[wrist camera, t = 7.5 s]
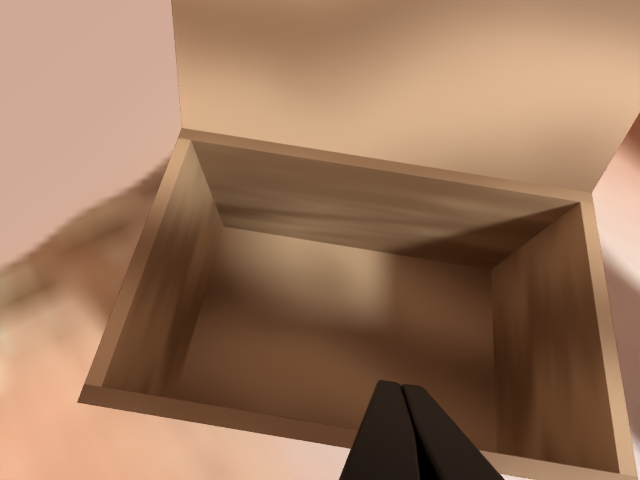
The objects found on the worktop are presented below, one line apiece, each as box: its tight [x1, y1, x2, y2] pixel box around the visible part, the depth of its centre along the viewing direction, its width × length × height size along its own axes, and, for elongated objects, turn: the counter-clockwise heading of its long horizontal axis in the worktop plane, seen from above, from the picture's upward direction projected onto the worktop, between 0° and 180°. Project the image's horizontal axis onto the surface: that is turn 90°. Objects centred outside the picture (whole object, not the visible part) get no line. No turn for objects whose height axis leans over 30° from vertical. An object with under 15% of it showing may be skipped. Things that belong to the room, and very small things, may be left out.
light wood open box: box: [77, 128, 638, 480], centre depth 17 cm, size 10×16×8 cm, turn 81°
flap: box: [171, 0, 640, 193], centre depth 12 cm, size 10×16×1 cm
